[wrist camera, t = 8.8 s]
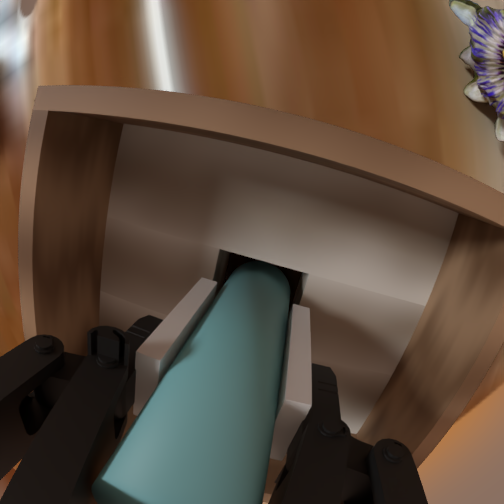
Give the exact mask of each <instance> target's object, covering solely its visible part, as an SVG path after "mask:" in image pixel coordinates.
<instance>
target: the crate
mask: <svg viewBox="0 0 504 504" xmlns="http://www.w3.org/2000/svg"><path fill="white" fill-rule="evenodd" d="M231 252H233V253H236V254H240V255H243V256H247V257H250V258H254V259H257V260H261V261H265V262H268V263H272V264H275V265H279V266H282V267H286V268H290V269H293V270H297V271H300V272H302V274H301V277H300V280H299V283H298V286H297V289H296V293H295V296H294V299H293V302H292V305H291V308H290V311H289V314H288V319H289V316H290V313H291V310H292V307H293V304H296V305H300V306H303V307H307V308H310V332H311V363H314V364H319V365H323V366H327V367H330V368H331V369H332V371H333V372H334V374H335V375H336V379H337V387H338V395H339V404H340V413H341V420H342V421H344V422H345V423H346V424H347V426H348V427H349V429H350V433H351V436H353V437H354V438H356V439H358V440H360V441H362V442H365V443H367V444H370V445H373V446H374V445H375V444H376V443H377V442H378V441H380V440H381V439H388V438H389V439H394V440H397V441H399V442H401V443H403V444H404V445H405V446H406V447H407V448H408V449H409V450H410V452H411V454H412V457H413V460H414V462H415V465H416V468H418V467H419V466H420V465H421V464H422V462H423V461H424V460H425V459H426V458H427V457H428V455H429V454H430V453H431V452H432V451H433V449H434V448H435V447H436V446H437V445H438V443H439V442H440V441H441V439H442V438H443V437H444V435H445V434H446V433H447V432H448V430H449V429H450V428H451V426H452V425H453V424H454V422H455V421H456V420H457V418H458V417H459V415H460V414H461V412H462V411H463V410H464V408H465V407H466V405H467V404H468V402H469V401H470V399H471V398H472V396H473V395H474V393H475V391H476V390H477V388H478V387H479V385H480V383H481V382H482V380H483V379H484V377H485V375H486V373H487V372H488V370H489V368H490V367H491V365H492V363H493V361H494V359H495V358H496V356H497V354H498V352H499V350H500V348H501V346H502V344H503V343H504V194H503V193H501V192H499V191H497V190H495V189H493V188H491V187H489V186H488V185H486V184H484V183H481V182H479V181H477V180H475V179H473V178H471V177H469V176H467V175H465V174H463V173H460V172H458V171H456V170H454V169H452V168H449V167H447V166H445V165H443V164H440V163H438V162H436V161H433V160H431V159H428V158H426V157H423V156H421V155H418V154H416V153H413V152H411V151H408V150H406V149H403V148H400V147H398V146H395V145H392V144H389V143H387V142H384V141H381V140H378V139H375V138H372V137H369V136H366V135H363V134H360V133H357V132H354V131H351V130H348V129H344V128H341V127H338V126H335V125H331V124H328V123H324V122H321V121H317V120H313V119H310V118H306V117H302V116H298V115H294V114H290V113H286V112H282V111H278V110H273V109H269V108H264V107H260V106H255V105H250V104H245V103H240V102H235V101H229V100H224V99H218V98H212V97H206V96H199V95H192V94H185V93H177V92H169V91H160V90H150V89H139V88H126V87H109V86H79V85H56V86H39V87H38V90H37V94H36V99H35V103H34V107H33V112H32V117H31V121H30V127H29V132H28V138H27V144H26V150H25V157H24V164H23V173H22V182H21V193H20V206H19V228H18V266H19V288H20V302H21V313H22V322H23V330H24V337H25V341H26V340H28V339H30V338H31V337H34V336H36V335H42V334H46V335H52V336H54V337H57V338H58V339H59V340H61V341H62V343H63V345H64V351H65V352H68V353H72V354H77V355H82V356H87V355H88V346H87V332H88V331H89V330H90V329H92V328H94V327H97V326H112V327H116V328H118V329H121V330H123V331H124V332H125V331H127V329H129V328H130V327H131V326H132V325H133V324H134V323H135V322H136V321H137V320H138V319H139V318H142V317H145V316H147V315H151V316H154V317H157V318H160V319H162V320H164V319H165V318H166V317H167V316H168V315H169V313H170V312H171V311H172V310H173V309H174V308H175V307H176V306H177V304H178V303H179V302H180V301H181V300H182V299H183V298H184V297H185V296H186V294H187V293H188V292H189V291H190V290H191V289H192V288H193V287H194V286H195V284H196V283H197V282H198V281H199V280H200V279H201V278H206V279H209V280H212V281H216V282H218V283H217V287H216V292H215V296H214V299H215V298H216V296H217V295H218V293H219V292H220V290H221V289H222V287H223V283H224V279H225V274H226V270H227V266H228V262H229V257H230V253H231ZM287 322H288V321H287ZM136 417H137V415H134V414H133V405H132V407H131V408H130V410H129V411H128V418H127V424H126V427H125V430H124V432H123V435H122V438H121V440H122V439H123V437H124V435H125V434H126V432H127V431H128V429H129V428H130V426H131V425H132V423H133V422H134V420H135V419H136ZM120 442H121V441H120ZM286 457H287V453H286V455H285V457H284V458H283V460H282V461H280V460H276V459H271V458H270V460H269V466H268V472H267V479H266V485H265V491H264V497H263V502H267V503H269V500H270V498H271V495H272V493H273V490H274V488H275V485H276V483H274V482H275V480H276V479H277V477H278V475H279V474H280V472H281V470H282V469H283V467H284V465H285V464H286Z"/></svg>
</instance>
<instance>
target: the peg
mask: <svg viewBox="0 0 504 504" xmlns="http://www.w3.org/2000/svg"><path fill="white" fill-rule="evenodd" d="M289 302H290V285H289V282H288V280H287V278H286V276H285V275H284V274H283V272H282V271H281V270H280V269H278V268H277V267H276V266H274V265H272V264H270V263H267V262H263V261H251V262H247V263H244V264H242V265H240V266H239V267H237V268H236V269H235V270H234V271H233V272H232V274H231V275H230V277H229V278H228V280H227V281H226V283H225V284H224V286H223V287H222V289H221V290H220V292H219V293H218V295H217V296H216V298H215V299H214V301H213V302H212V304H211V305H210V307H209V308H208V310H207V311H206V313H205V314H204V316H203V317H202V319H201V320H200V322H199V323H198V325H197V326H196V328H195V329H194V331H193V332H192V334H191V335H190V337H189V338H188V340H187V341H186V343H185V344H184V346H183V347H182V349H181V350H180V352H179V353H178V355H177V356H176V358H175V360H174V361H173V363H172V364H171V366H170V367H169V369H168V370H167V372H166V373H165V375H164V376H163V378H162V379H161V381H160V382H159V384H158V385H157V387H156V388H155V390H154V391H153V393H152V394H151V396H150V397H149V399H148V400H147V402H146V403H145V405H144V407H143V408H142V410H141V411H140V413H139V414H138V416H137V417H136V419H135V420H134V422H133V423H132V425H131V426H130V428H129V429H128V431H127V432H126V434H125V435H124V437H123V439H122V440H121V442H120V443H119V445H118V446H117V448H116V449H115V451H114V452H113V454H112V455H111V457H110V458H109V460H108V461H107V463H106V464H105V466H104V468H103V469H102V471H101V472H100V474H99V475H98V477H97V478H96V480H95V481H94V483H93V484H92V488H91V490H92V494H93V497H94V499H95V500H96V502H97V503H98V504H262V502H263V497H264V491H265V485H266V479H267V472H268V466H269V460H270V453H271V446H272V440H273V433H274V426H275V419H276V411H277V404H278V397H279V389H280V381H281V373H282V365H283V356H284V348H285V339H286V330H287V321H288V312H289Z"/></svg>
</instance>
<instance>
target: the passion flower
mask: <svg viewBox="0 0 504 504" xmlns="http://www.w3.org/2000/svg"><path fill="white" fill-rule="evenodd" d="M449 6H450V8H451V10H452V11H453V12H454V13H455V15H456V16H457V17H458V18H459V19H460V20H461V21H462V22H463V23H464V24H465V25H467V26H468V27H469V34H470V36H471V39H470V46H469V47H467V48H465V49H464V50H463V51H462V52H461V53H460V55H459V58H460V59H462V60H463V61H464V63H465V64H467V65H469V66H471V68H472V69H473V70H474V73H475V77H474V79H473V80H472V81H471V82H469V83H468V84H467V85H466V87H465V89H464V94H465V95H466V96H468V97H469V98H470V99H471V100H473V101H476V102H483V103H484V102H486V103H487V102H489V105H490V106H491V105H493V106H494V108H495V109H496V111H495V112H497V116H498V117H497V120H496V122H495V135H496V138H497V139H498V140H499V141H501V142H504V9H501V10H498V9H493V8H491V7H489V6H485V7H484V8H482V7H480V6H479V5H478V4H477V3H474V2H472V1H470V0H449Z"/></svg>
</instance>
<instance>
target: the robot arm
mask: <svg viewBox="0 0 504 504" xmlns="http://www.w3.org/2000/svg"><path fill="white" fill-rule="evenodd" d="M217 283H218V282H216V281H212V280H209V279H206V278H201V279H200V280H199V281H198V282H197V283H196V284H195V286H194V287H193V288H192V289H191V290H190V291H189V292H188V293H187V294H186V296H185V297H184V298H183V299H182V300H181V301H180V302H179V303H178V304H177V306H176V307H175V308H174V309H173V310H172V311H171V312H170V313H169V315H168V316H167V317H166V318H165V319H164V320H162V319H160V318H157V317H154V316H151V315H147V316H145V317H142V318H139V319H138V320H137V321H136V322H135V323H134V324H133V325H132V326H131V327H130V328H129V329H127V331H125V332H124V331H123V330H121V329H118V328H116V327H112V326H97V327H94V328H92V329H90V330H89V331H88V332H87V346H88V355H87V356H82V355H77V354H72V353H68V352H65V351H64V345H63V343H62V341H61V340H59V339H58V338H57V337H54V336H52V335H46V334H42V335H36V336H34V337H31V338H30V339H28V340H26V341H25V342H23V343H22V344H20V345H18V346H17V347H15V348H14V349H12V350H11V351H9V352H7V353H6V354H4V355H3V356H1V357H0V480H1V479H2V478H3V477H4V476H5V475H6V474H7V473H8V472H9V471H10V470H11V469H12V468H13V467H14V466H15V465H16V464H17V463H18V462H19V461H20V460H21V459H22V458H23V459H22V460H21V462H20V464H19V466H18V468H17V469H16V471H15V473H14V475H13V477H12V479H11V481H10V482H9V485H8V486H7V488H6V490H5V492H4V494H3V496H2V498H1V500H0V504H98V503H97V502H96V500H95V499H94V497H93V494H92V490H91V488H92V484H93V483H94V481H95V480H96V478H97V477H98V475H99V474H100V472H101V471H102V469H103V468H104V466H105V464H106V463H107V461H108V460H109V458H110V457H111V455H112V454H113V452H114V451H115V449H116V448H117V446H118V445H119V443H120V441H121V438H122V435H123V432H124V430H125V427H126V424H127V418H128V411H129V410H130V408H131V407H132V405H133V414H134V415H137V416H138V414H139V413H140V411H141V410H142V408H143V407H144V405H145V403H146V402H147V400H148V399H149V397H150V396H151V394H152V393H153V391H154V390H155V388H156V387H157V385H158V384H159V382H160V381H161V379H162V378H163V376H164V375H165V373H166V372H167V370H168V369H169V367H170V366H171V364H172V363H173V361H174V360H175V358H176V356H177V355H178V353H179V352H180V350H181V349H182V347H183V346H184V344H185V343H186V341H187V340H188V338H189V337H190V335H191V334H192V332H193V331H194V329H195V328H196V326H197V325H198V323H199V322H200V320H201V319H202V317H203V316H204V314H205V313H206V311H207V310H208V308H209V307H210V305H211V304H212V302H213V301H214V296H215V292H216V287H217ZM33 390H34V391H33ZM32 391H33V392H32ZM286 453H287V457H286V464H285V465H284V467H283V469H282V470H281V472H280V474H279V475H278V477H277V479H276V480H275V482H274V483H276V485H275V488H274V490H273V493H272V495H271V498H270V500H269V503H268V504H428V502H427V499H426V496H425V493H424V490H423V486H422V483H421V480H420V477H419V474H418V471H417V468H416V465H415V462H414V460H413V457H412V454H411V452H410V450H409V449H408V448H407V447H406V446H405V445H404V444H403V443H401V442H399V441H397V440H394V439H389V438H388V439H381V440H380V441H378V442H377V443H376V444H375V445H374V446H373V445H370V444H367V443H365V442H362V441H360V440H358V439H356V438H354V437H353V436H351V433H350V429H349V427H348V426H347V424H346V423H345V422H344V421H342V420H341V413H340V404H339V395H338V387H337V379H336V375H335V374H334V372H333V371H332V369H331V368H330V367H327V366H323V365H319V364H314V363H311V332H310V308H307V307H303V306H300V305H296V304H293V307H292V310H291V313H290V316H289V319H288V322H287V330H286V339H285V348H284V356H283V365H282V373H281V381H280V389H279V397H278V404H277V411H276V419H275V426H274V433H273V440H272V446H271V453H270V458H271V459H276V460H280V461H282V460H283V458H284V457H285V455H286Z"/></svg>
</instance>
